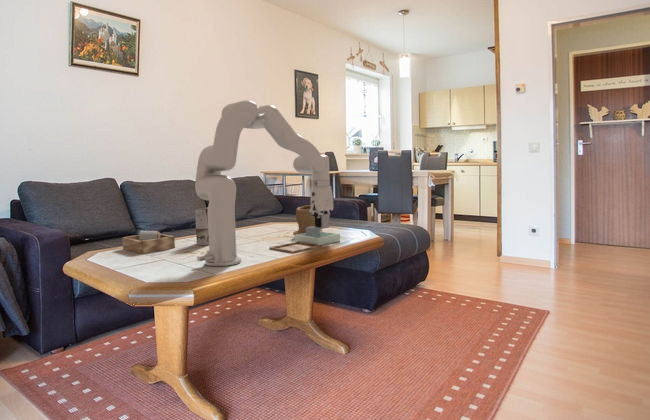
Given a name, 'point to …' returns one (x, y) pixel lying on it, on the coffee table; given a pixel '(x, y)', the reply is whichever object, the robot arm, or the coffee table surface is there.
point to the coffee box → (202, 226)
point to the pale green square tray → (322, 240)
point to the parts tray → (295, 247)
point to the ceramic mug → (149, 235)
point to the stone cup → (304, 219)
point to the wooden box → (148, 244)
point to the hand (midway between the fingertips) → (322, 225)
